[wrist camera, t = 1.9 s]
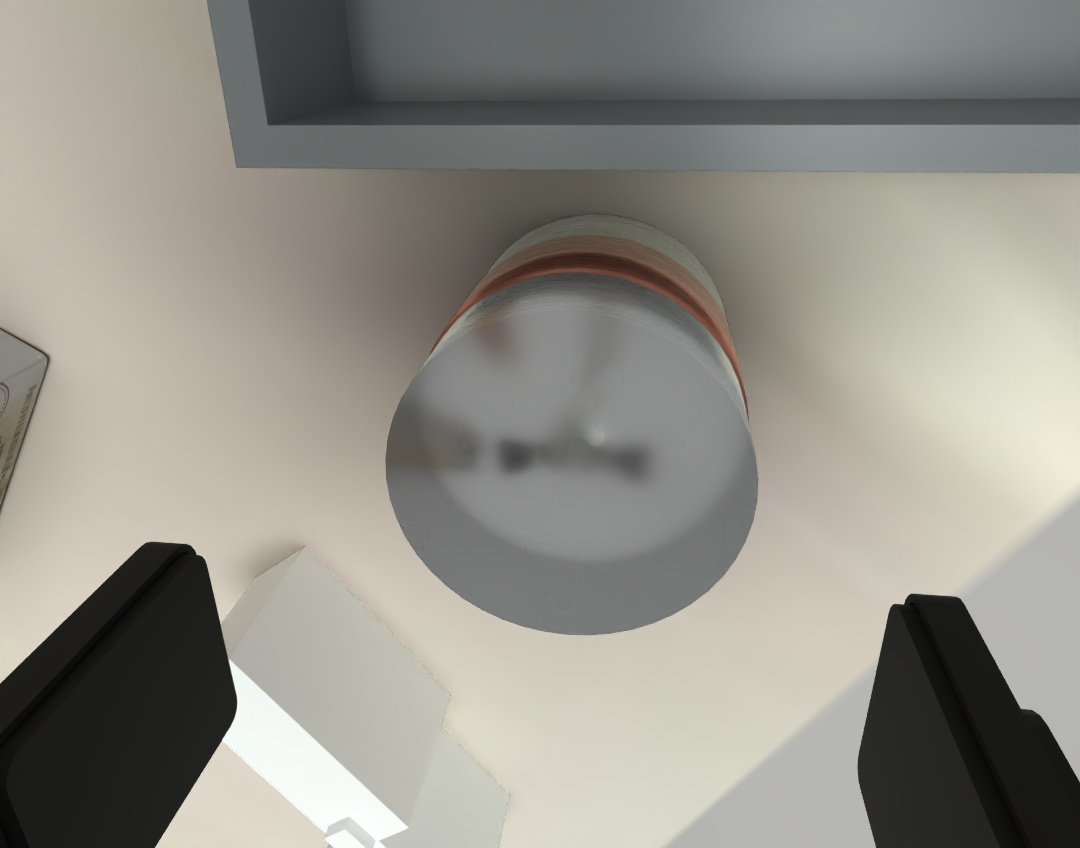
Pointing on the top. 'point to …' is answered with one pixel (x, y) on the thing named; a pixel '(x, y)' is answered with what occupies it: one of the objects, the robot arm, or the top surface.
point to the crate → (653, 84)
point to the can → (579, 434)
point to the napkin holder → (349, 719)
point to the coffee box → (16, 398)
